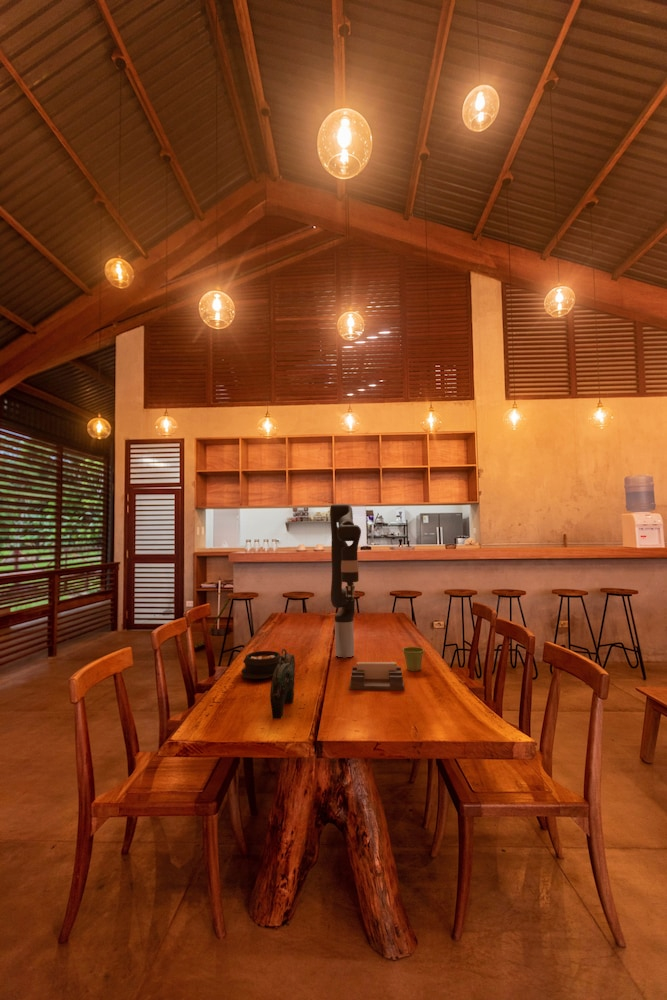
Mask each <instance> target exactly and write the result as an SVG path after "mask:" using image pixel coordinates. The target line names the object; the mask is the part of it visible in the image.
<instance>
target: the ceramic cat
mask: <svg viewBox="0 0 667 1000" xmlns="http://www.w3.org/2000/svg"><path fill="white" fill-rule="evenodd" d="M295 668H296V660H295V655H294V654H289V653H288V652H287V650H286V649H285V648H282V649H281V655H280V660H279V664H278V665H277V667H276V669H275V670H274V673H273V676H272V679H271V685H270V693H269V698H270V708H271V713H272V714H271V716H272V719H275V718H277V719H278V718H279V720H281V719H282V718H281V717H283V715H284V707H285V704H292V703H293V701H294V698H295V696H294V695H295V693H294V692H295V690H294V689H295V678H296V677H295V676H296V673H295V671H296V670H295ZM284 702H285V703H284Z"/></svg>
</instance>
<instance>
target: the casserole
mask: <svg viewBox="0 0 667 1000" xmlns="http://www.w3.org/2000/svg"><path fill="white" fill-rule="evenodd" d="M280 656H281V654H280V652H277V651H273V650H272V651H271V650H260V651H253V652H250V653H247V654H246V655H245V657H244V659H243V660H242V661H243V664H244V668H243V669H242V670H241V672H240V673H242V675H241V677H242V678H243V679H247V680H248V679H249V680H263V679H264V680H265V679H269V678H271V677H273V673H274V670H275V669H276V667H277V665H278V664H279V660H280Z"/></svg>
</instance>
